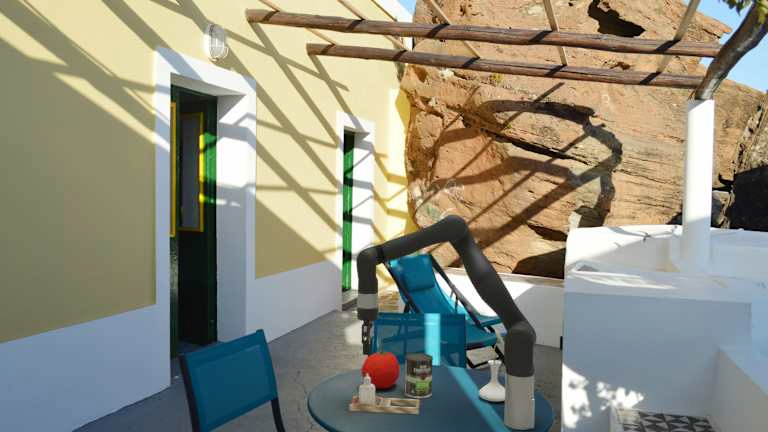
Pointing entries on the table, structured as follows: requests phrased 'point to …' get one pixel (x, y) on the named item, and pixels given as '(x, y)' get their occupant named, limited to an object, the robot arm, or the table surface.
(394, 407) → the rail
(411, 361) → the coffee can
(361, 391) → the eye dropper bottle
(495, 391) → the flower in vase
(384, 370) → the tomato
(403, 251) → the robot arm
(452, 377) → the table surface
